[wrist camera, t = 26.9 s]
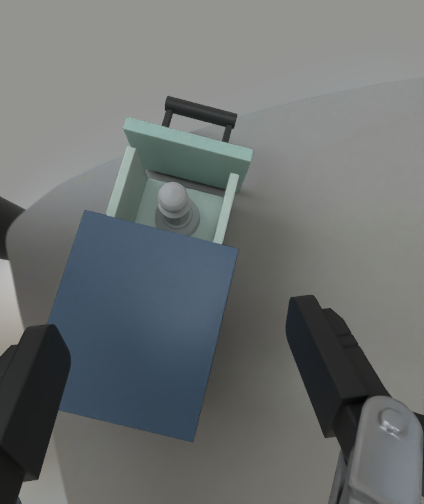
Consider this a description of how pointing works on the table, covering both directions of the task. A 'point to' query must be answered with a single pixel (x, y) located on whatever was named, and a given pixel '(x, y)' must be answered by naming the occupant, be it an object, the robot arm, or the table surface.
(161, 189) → the chess piece
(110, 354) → the blue drawer cabinet
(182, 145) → the drawer
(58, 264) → the table surface
